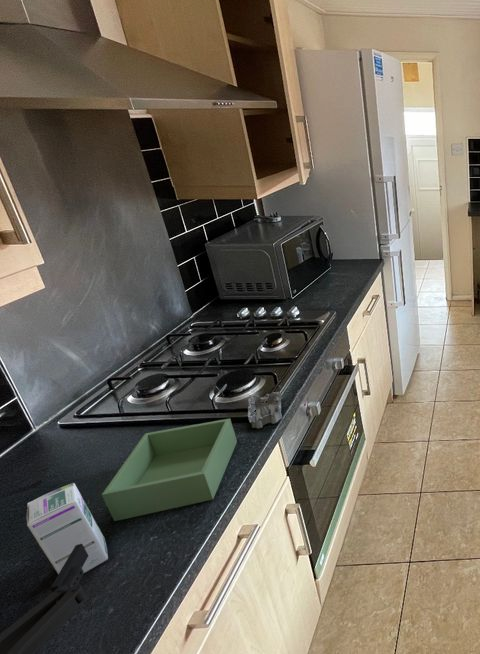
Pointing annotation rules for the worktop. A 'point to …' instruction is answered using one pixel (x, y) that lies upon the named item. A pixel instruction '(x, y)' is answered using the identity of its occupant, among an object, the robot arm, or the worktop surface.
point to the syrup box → (65, 527)
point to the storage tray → (171, 469)
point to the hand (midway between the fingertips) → (22, 567)
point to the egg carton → (264, 409)
